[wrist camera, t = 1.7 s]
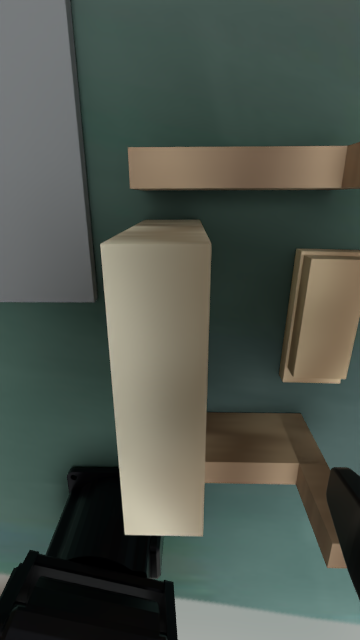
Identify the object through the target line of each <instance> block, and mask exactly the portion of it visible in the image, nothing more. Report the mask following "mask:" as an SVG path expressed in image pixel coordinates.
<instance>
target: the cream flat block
mask: <svg viewBox="0 0 360 640" xmlns="http://www.w3.org/2000/svg"><path fill="white" fill-rule="evenodd" d="M100 247H101V259H102V271H103V283H104V294H105V306H106V318H107V330H108V342H109V354H110V365H111V377H112V389H113V401H114V413H115V425H116V436H117V448H118V460H119V472H120V484H121V496H122V507H123V519H124V531H125V535H158V536H203V517H204V483H205V448H206V414H207V379H208V345H209V310H210V276H211V242H210V240H209V238H208V236H207V234H206V232H205V230H204V228H203V226H202V223H201V221H200V220H144V221H142V222H140V223H138V224H136V225H134V226H132V227H131V228H129V229H127V230H125V231H123V232H121V233H120V234H118V235H116V236H114V237H112V238H110V239H108V240H107V241H105V242H103V243H101V244H100Z"/></svg>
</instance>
